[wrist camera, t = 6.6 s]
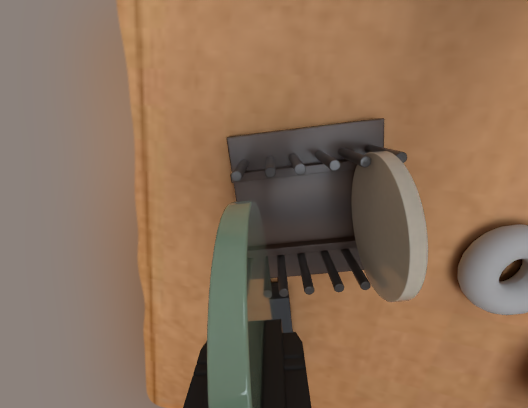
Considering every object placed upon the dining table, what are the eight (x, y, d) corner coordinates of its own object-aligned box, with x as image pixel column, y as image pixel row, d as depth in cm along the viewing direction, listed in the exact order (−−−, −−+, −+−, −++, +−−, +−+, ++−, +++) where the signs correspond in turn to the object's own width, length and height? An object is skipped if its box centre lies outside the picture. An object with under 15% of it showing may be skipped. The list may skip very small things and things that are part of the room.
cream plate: (350, 145, 23) (415, 165, 13) (361, 144, 23) (436, 163, 13) (352, 254, 27) (405, 340, 16) (362, 253, 27) (421, 339, 16)
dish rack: (228, 136, 25) (212, 142, 18) (377, 118, 24) (423, 117, 17) (249, 272, 29) (243, 321, 22) (376, 261, 29) (411, 307, 21)
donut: (480, 207, 27) (433, 287, 29) (510, 218, 23) (454, 307, 26) (565, 235, 27) (511, 311, 30) (606, 250, 24) (541, 334, 27)
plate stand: (233, 285, 30) (229, 302, 27) (287, 280, 30) (289, 298, 27) (247, 365, 33) (245, 387, 31) (295, 361, 33) (298, 384, 30)
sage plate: (240, 176, 15) (165, 319, 4) (257, 175, 15) (225, 315, 4) (262, 331, 18) (252, 622, 8) (277, 330, 18) (286, 622, 8)
